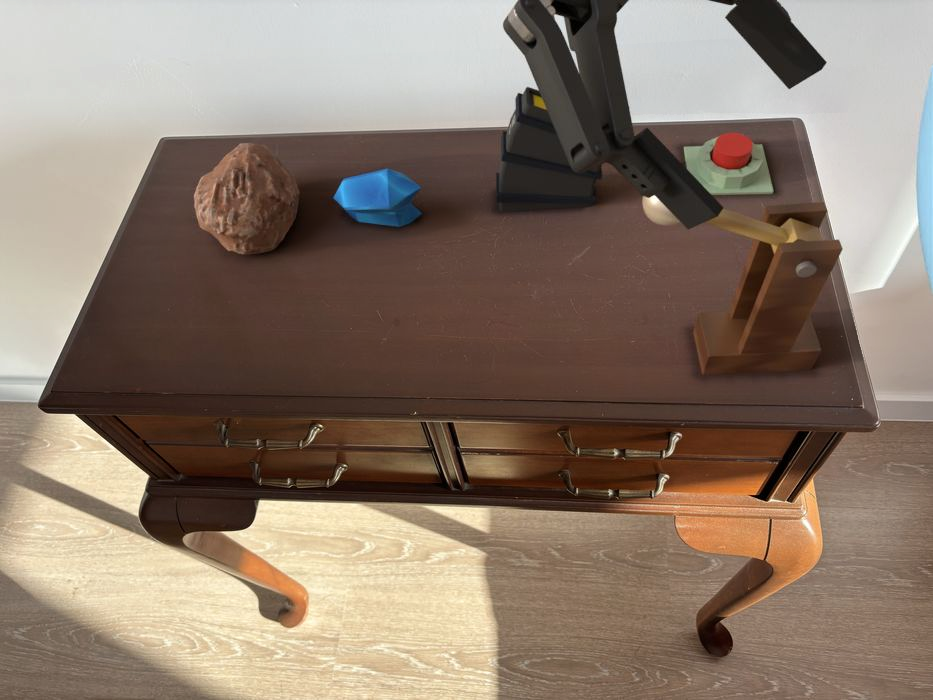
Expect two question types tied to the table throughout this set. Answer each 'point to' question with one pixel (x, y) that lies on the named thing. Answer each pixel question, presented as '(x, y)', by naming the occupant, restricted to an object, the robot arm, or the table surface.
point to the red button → (732, 151)
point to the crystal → (379, 198)
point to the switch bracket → (771, 303)
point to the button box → (729, 171)
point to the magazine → (538, 163)
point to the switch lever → (740, 225)
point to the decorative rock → (247, 200)
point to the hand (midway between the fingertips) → (759, 144)
